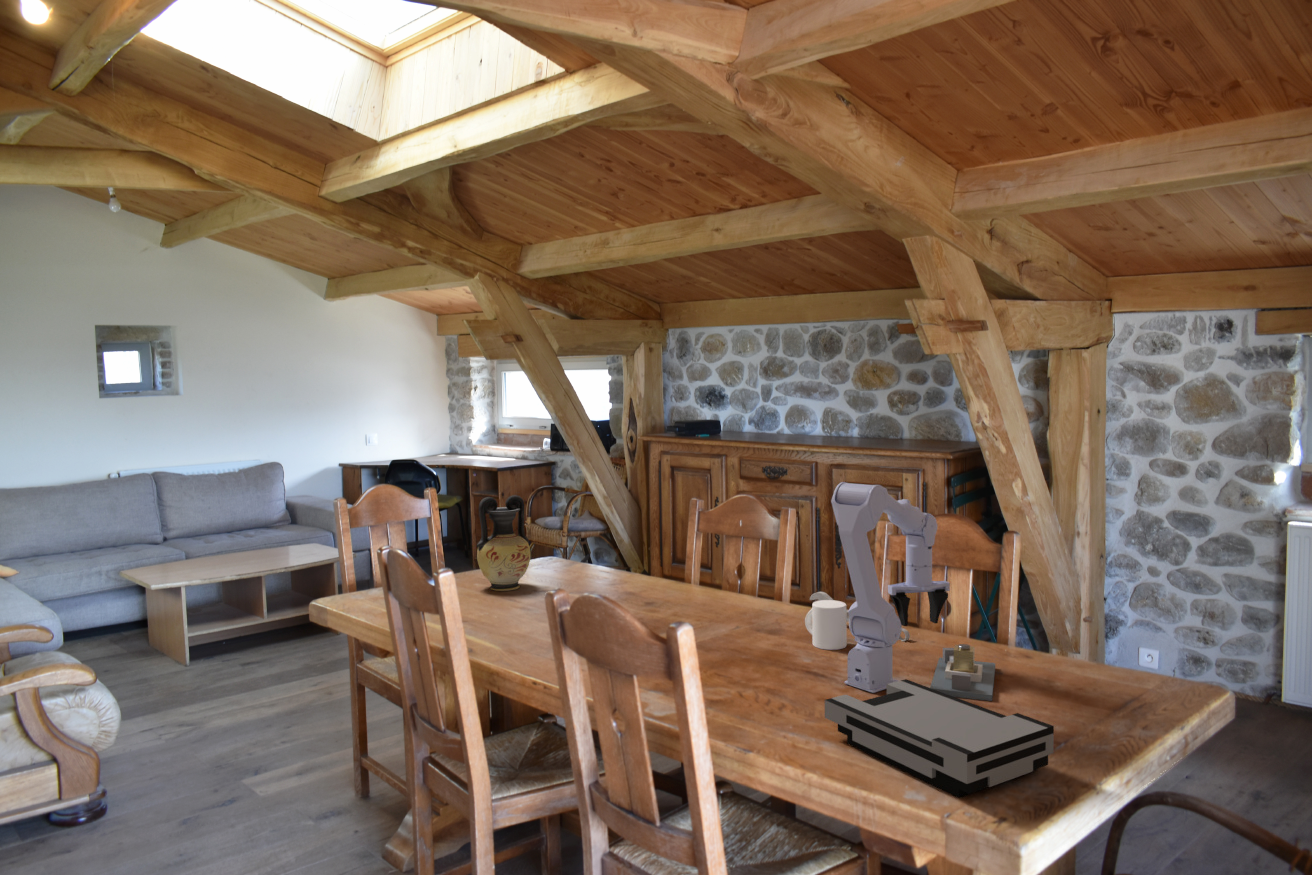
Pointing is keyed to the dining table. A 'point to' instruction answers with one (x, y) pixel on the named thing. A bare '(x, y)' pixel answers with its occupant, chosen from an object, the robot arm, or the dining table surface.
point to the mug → (828, 624)
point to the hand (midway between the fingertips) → (918, 623)
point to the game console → (942, 737)
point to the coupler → (964, 658)
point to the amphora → (503, 544)
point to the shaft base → (963, 678)
